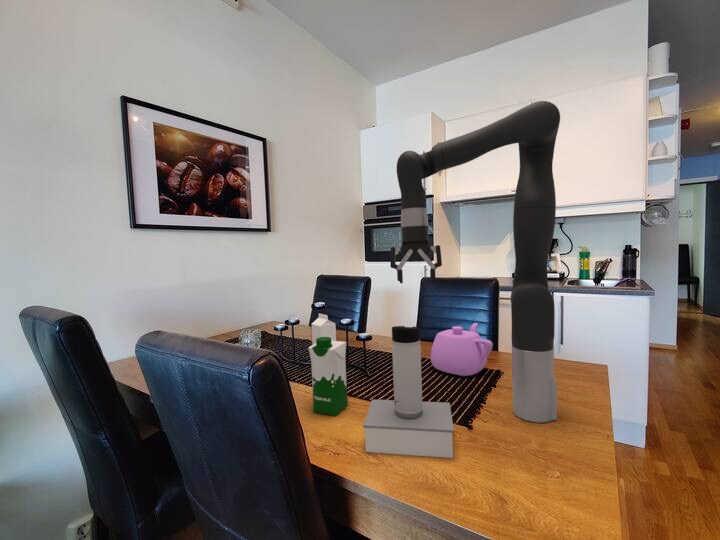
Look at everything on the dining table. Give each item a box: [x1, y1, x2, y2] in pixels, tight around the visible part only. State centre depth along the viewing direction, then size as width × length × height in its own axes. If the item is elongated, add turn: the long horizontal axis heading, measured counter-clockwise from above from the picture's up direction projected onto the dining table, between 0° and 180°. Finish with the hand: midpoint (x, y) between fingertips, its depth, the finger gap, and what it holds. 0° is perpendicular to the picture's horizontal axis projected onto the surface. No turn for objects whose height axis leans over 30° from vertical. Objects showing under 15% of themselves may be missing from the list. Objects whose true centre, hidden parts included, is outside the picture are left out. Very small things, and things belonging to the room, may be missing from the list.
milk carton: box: [308, 337, 349, 417], centre depth 94 cm, size 9×9×20 cm
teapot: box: [430, 322, 494, 377], centre depth 120 cm, size 23×21×15 cm
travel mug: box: [391, 325, 423, 419], centre depth 77 cm, size 6×7×20 cm
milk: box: [311, 313, 337, 345], centre depth 117 cm, size 6×6×22 cm
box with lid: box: [362, 399, 455, 459], centre depth 77 cm, size 19×13×6 cm
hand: (416, 282), depth 98 cm, fingers open, 8 cm apart
